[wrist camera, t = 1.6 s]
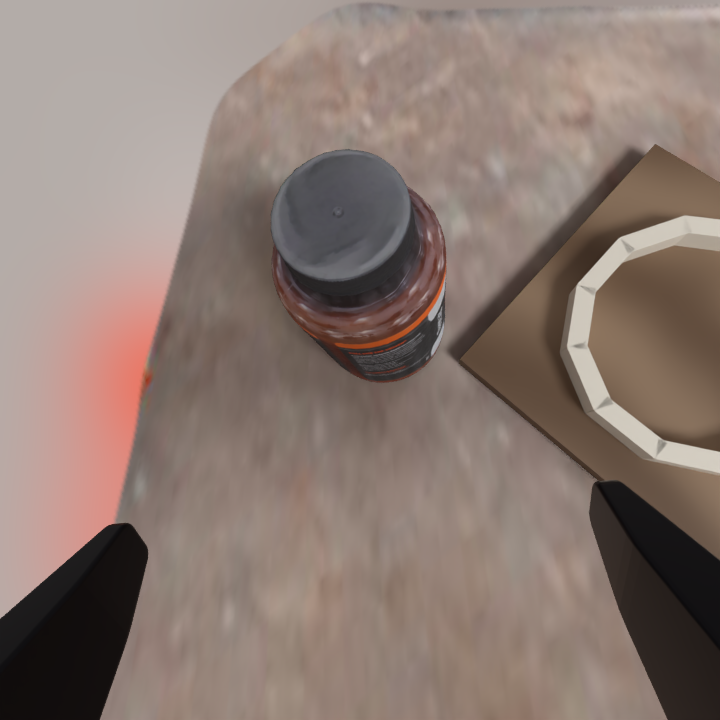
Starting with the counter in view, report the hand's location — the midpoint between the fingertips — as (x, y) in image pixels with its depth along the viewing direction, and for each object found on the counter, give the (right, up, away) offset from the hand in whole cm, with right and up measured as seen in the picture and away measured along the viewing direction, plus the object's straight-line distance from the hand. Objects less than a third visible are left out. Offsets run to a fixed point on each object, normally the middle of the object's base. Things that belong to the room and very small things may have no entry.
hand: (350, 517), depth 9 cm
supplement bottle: (+2, +5, +15) cm, 15 cm away
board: (+15, +4, +12) cm, 19 cm away
